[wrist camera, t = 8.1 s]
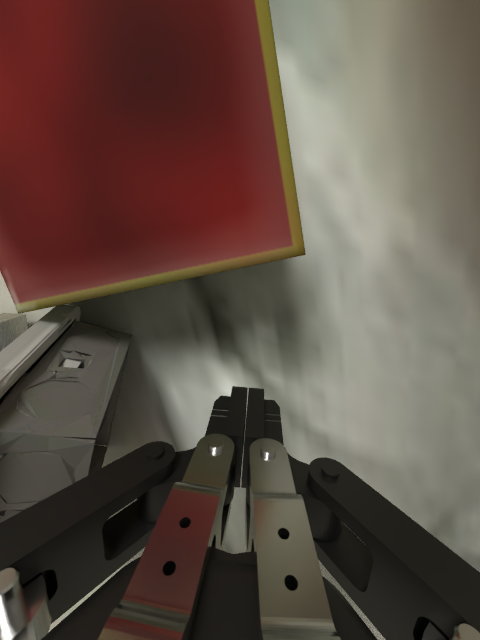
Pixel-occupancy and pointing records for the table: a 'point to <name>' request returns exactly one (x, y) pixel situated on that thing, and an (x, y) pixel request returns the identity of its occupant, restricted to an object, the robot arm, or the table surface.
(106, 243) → the hardcover book
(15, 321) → the plunger
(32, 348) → the electrical switch
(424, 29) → the table surface
